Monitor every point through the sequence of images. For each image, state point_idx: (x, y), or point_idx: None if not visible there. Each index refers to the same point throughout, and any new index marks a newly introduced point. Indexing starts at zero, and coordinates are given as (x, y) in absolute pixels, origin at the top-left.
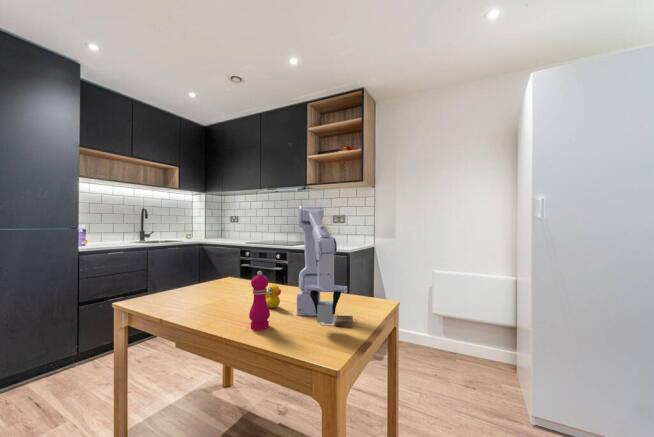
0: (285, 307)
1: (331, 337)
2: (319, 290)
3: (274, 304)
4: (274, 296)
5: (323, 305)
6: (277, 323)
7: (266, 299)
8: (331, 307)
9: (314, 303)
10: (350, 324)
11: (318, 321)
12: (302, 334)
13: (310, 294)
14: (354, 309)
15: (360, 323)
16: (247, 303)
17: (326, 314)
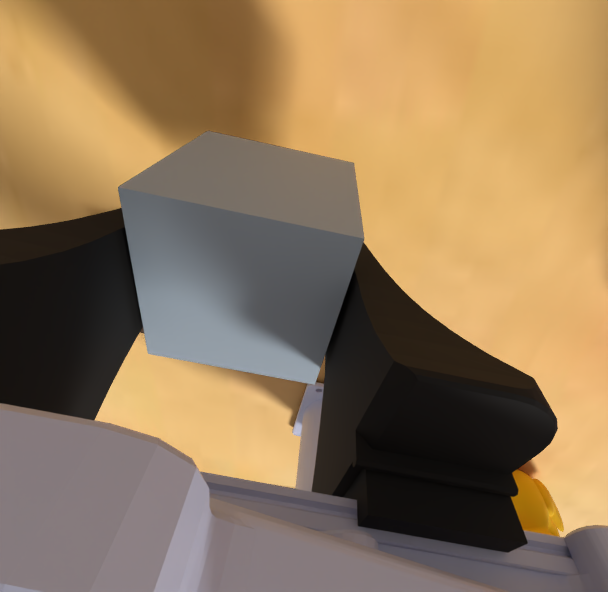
0: None
1: (246, 63)
2: (304, 525)
3: (520, 484)
4: (534, 530)
5: (265, 225)
6: (562, 336)
7: (553, 519)
8: (146, 182)
9: (402, 295)
10: None
11: (344, 161)
12: (462, 153)
13: (555, 429)
14: (150, 413)
15: None
16: (597, 512)
17: (249, 164)
